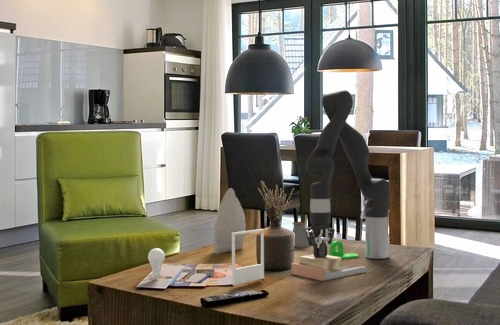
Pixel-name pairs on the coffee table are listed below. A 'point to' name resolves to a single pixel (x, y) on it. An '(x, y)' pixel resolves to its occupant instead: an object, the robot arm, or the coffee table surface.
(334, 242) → the mechanical part
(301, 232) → the coffee pot
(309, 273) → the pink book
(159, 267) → the lightbulb
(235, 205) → the rock
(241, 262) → the coffee table surface
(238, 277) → the photo frame
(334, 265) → the light wooden block
